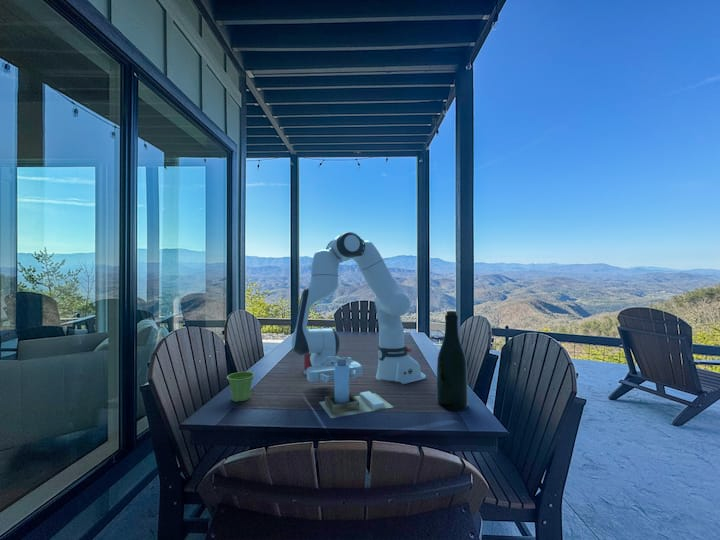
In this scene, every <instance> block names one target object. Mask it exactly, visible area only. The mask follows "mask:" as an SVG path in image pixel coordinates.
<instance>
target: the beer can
mask: <svg viewBox="0 0 720 540" xmlns="http://www.w3.org/2000/svg"><path fill="white" fill-rule="evenodd" d="M310 356H311V354H306V355H303V371H304V370H307V368H308V367H312V365H311V362H310Z"/></svg>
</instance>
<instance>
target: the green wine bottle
mask: <svg viewBox="0 0 720 540" xmlns="http://www.w3.org/2000/svg"><path fill="white" fill-rule="evenodd" d="M444 319H445V329H444V338H443V341H442V344H441V346H440V348H439V352H438V354H437V355H438V356H437V363H436V365H437V366H436V404H437V405H438V406H439V407H440V408H443V409H444V410H447V411H453V412H455V411H456V412H457V411H458V412H459V411H463V410H465V409H467V408H468V405H469V399H468V396H469V395H468V391H469V390H468V387H469V386H468V367H467V357H466V353H465V351H464V348H463V346H462V343H461V341H460V335H459V325H458V324H459V322H458V321H459V316H458V314H457V311H455V310H447V311H446V314H445V315H444Z"/></svg>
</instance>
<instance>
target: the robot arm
mask: <svg viewBox="0 0 720 540" xmlns="http://www.w3.org/2000/svg"><path fill="white" fill-rule="evenodd" d="M351 259H352V260H353V261H354V262H355V263H356V265H357V266H358V268H359V271H360V272H361V274H362V276H363V278H364V280H365V282H366V283H367V285H368V287H369V288H370V289H371V291H372V292H373V293H374V296H375V297H374V306H375V309H376V316H377V317H376V318H377V323H378V336H379V337H378V340H379V341H378V345H377V348H378V349H377V356H378V357H377V358H378V359H377V360H378V364H377V370H376V375H375V379H376V380H377V381H380V380H383V381H390V382H398V383H400V384H403V385H405V384H409V383H413V382H417V381H422V380H425V379H427V376H426V374H425V373H423V372H422V370H421V366H420V363H419V362H418V361H417V360H416V359H414V358H413V357H412V356H410V355H409V354H408V353H412V347H409V346H405V329H404V326H403V323H402V316H405V315H406V314H407V313H408V312H409V311H410V308H411V299H410V298H409V297H408V295H406V293H404V291H403V289H402V288H401V286H400V285H399V283H398V282H397V281H396V280H395V278H394V277H393V276H392V274H391V272H390V270H389V268H388V266H387V265H386V263H385V261H384V258H383V257H382V255H381V253H380V252H379V250H378V249H377V247H376V246H375V245H374V243H372V242H371V241H370V240H364V239H362V238H361V236H359V234H357V233H355V232H352V231H345V232H343V233H341V234H338V235H337V236H336V237H335V236H334V238H333V239H332V240H331V241H330V242H329V243H328V244H327V246H326V248H324V249H319V250H317V251H316V252H315V253H314V255H313V259H312V262H311V263H312V264H311V273H310V274H311V277H310V282H309V284H308V286H307V287H305V288H304V289H303V291H302V293H301V296H300V301H299V304H298V310H297V316H296V321H295V327H294V330H293V334H292V337H291V342H290V343H291V349H292V351H293V352H294V353H295V354H297V355H298V356H304V355H306V354H311V356H310V362H311V365H312V367H308V368H307V370H304V369H303V374H304V375H306V379H307V381H308V382H309V383H315V382H325V383H330V382H331V381H333V380H334V365H335V364H337V359H338V358H346V363H347V364H349V378H351V379H352V380H355V379H357V377H361V376H363V372H364V370H363V365H362V364H361V363H360V362H358V361H356V360H353V359H352V357H350V356H338V352H339V349H340V338H339V335H338V333H337V332H336V331H335V330H334V329H333V328H331V327H329V328H328V327H321V328H307V327H308V321H309V316H310V310H311V308H312V306H313V305H314V304H316V303H317V302H319V301H322V300H324V299H327V298H329V297H330V296H332V295H333V294H334V293H335V292H336V291H337V289H338V285H339V265H340V263H343V262H346V261H349V260H351Z"/></svg>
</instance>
